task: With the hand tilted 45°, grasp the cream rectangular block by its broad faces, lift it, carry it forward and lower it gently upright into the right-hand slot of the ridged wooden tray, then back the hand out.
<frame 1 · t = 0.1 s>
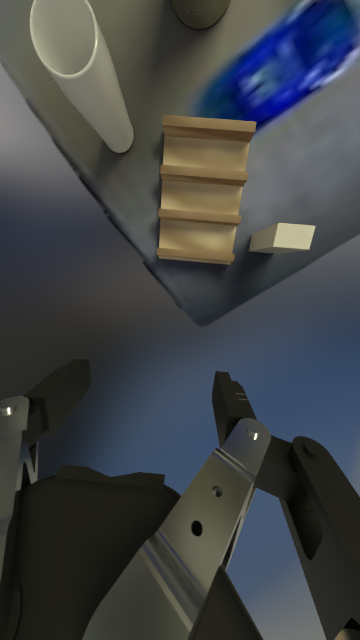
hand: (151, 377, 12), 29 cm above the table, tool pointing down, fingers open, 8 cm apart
ridged wooden tray: (200, 202, 34), on the table
drinking glass: (119, 136, 32), on the table
cream rectangular block: (263, 244, 36), on the table
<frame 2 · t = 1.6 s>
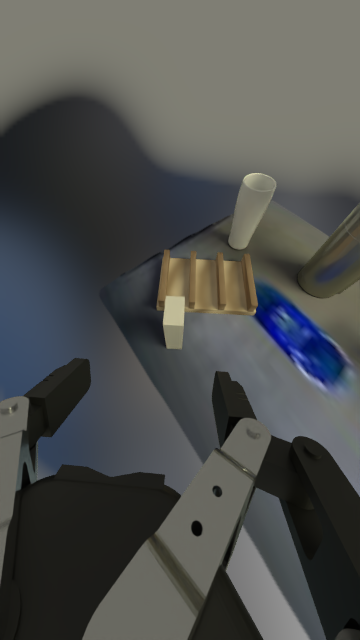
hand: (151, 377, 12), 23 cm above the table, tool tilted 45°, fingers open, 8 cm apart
ridged wooden tray: (204, 286, 43), on the table
drinking glass: (237, 244, 50), on the table
cream rectangular block: (175, 336, 38), on the table
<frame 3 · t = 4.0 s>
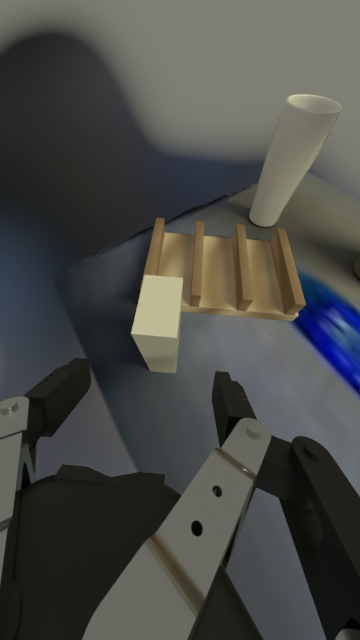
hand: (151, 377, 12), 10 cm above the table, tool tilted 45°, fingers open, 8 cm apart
ridged wooden tray: (215, 275, 29), on the table
drinking glass: (261, 220, 36), on the table
cream rectangular block: (165, 351, 23), on the table
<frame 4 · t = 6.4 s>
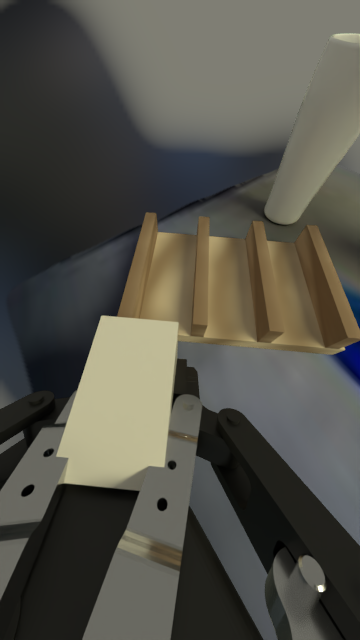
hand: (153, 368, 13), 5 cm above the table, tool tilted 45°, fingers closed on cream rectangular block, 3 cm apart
ridged wooden tray: (224, 288, 22), on the table
drinking glass: (279, 216, 29), on the table
cream rectangular block: (155, 405, 16), on the table, touching gripper
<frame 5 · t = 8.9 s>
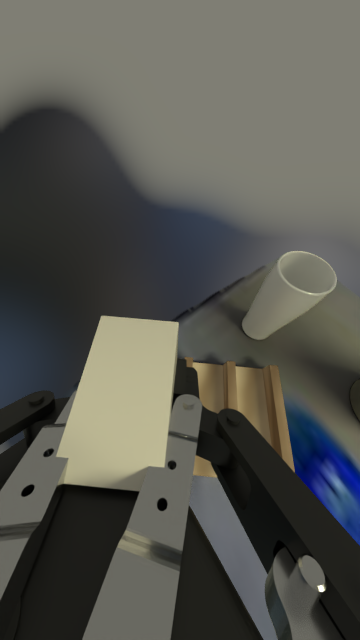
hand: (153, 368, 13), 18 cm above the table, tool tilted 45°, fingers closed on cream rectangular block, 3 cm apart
ridged wooden tray: (204, 413, 27), on the table
drinking glass: (254, 327, 34), on the table
cream rectangular block: (155, 405, 16), point 13 cm above the table, touching gripper
when the fingers open (7 cm above the table, at t = 11.7 s): cream rectangular block stays where it is, resting on ridged wooden tray.
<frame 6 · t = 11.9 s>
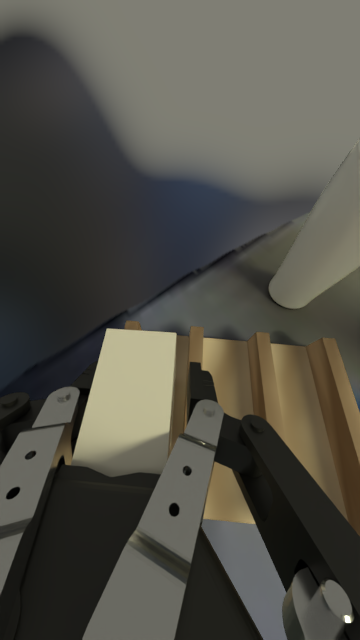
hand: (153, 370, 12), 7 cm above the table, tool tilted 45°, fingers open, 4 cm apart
ridged wooden tray: (221, 412, 18), on the table
drinking glass: (286, 294, 25), on the table
cream rectangular block: (156, 406, 17), point 2 cm above the table, touching ridged wooden tray
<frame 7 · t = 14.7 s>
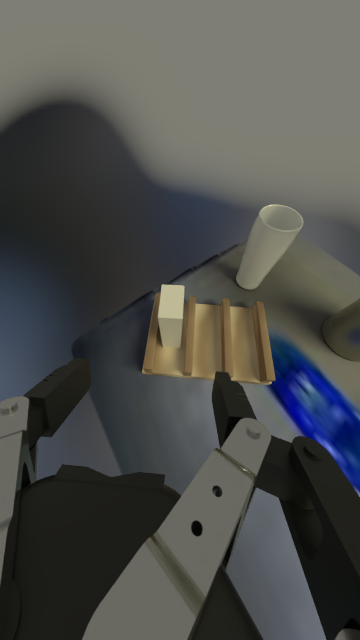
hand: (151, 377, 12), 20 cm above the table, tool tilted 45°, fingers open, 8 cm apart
ridged wooden tray: (205, 340, 34), on the table
drinking glass: (246, 281, 41), on the table
cream rectangular block: (172, 334, 33), point 1 cm above the table, touching ridged wooden tray
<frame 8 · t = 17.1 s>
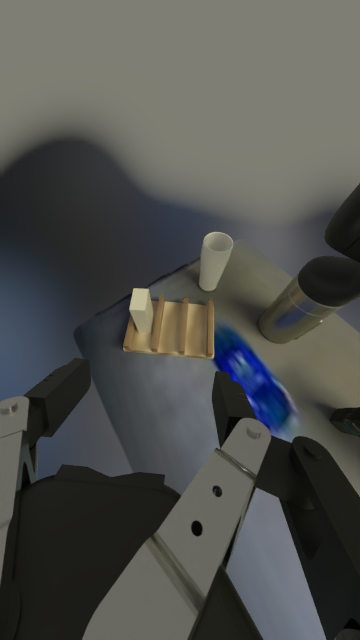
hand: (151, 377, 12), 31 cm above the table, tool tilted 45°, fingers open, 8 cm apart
ridged wooden tray: (171, 328, 47), on the table
drinking glass: (207, 285, 54), on the table
cream rectangular block: (146, 324, 46), point 1 cm above the table, touching ridged wooden tray
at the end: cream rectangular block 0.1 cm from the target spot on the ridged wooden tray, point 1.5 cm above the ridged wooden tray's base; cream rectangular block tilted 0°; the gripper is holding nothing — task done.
